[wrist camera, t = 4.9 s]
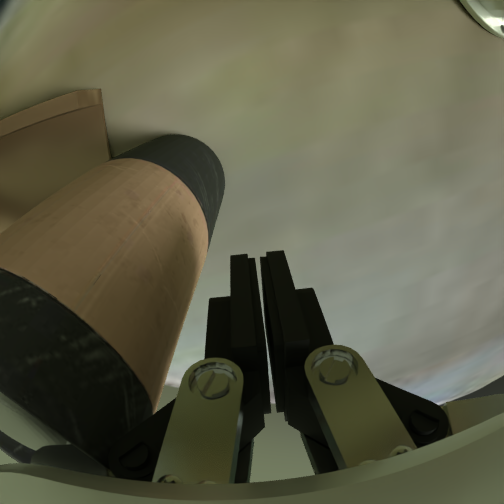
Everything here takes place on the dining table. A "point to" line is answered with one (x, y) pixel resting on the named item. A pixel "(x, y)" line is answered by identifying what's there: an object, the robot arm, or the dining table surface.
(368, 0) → the dining table surface
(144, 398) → the travel mug
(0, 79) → the dining table surface
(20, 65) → the dining table surface
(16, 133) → the tray
